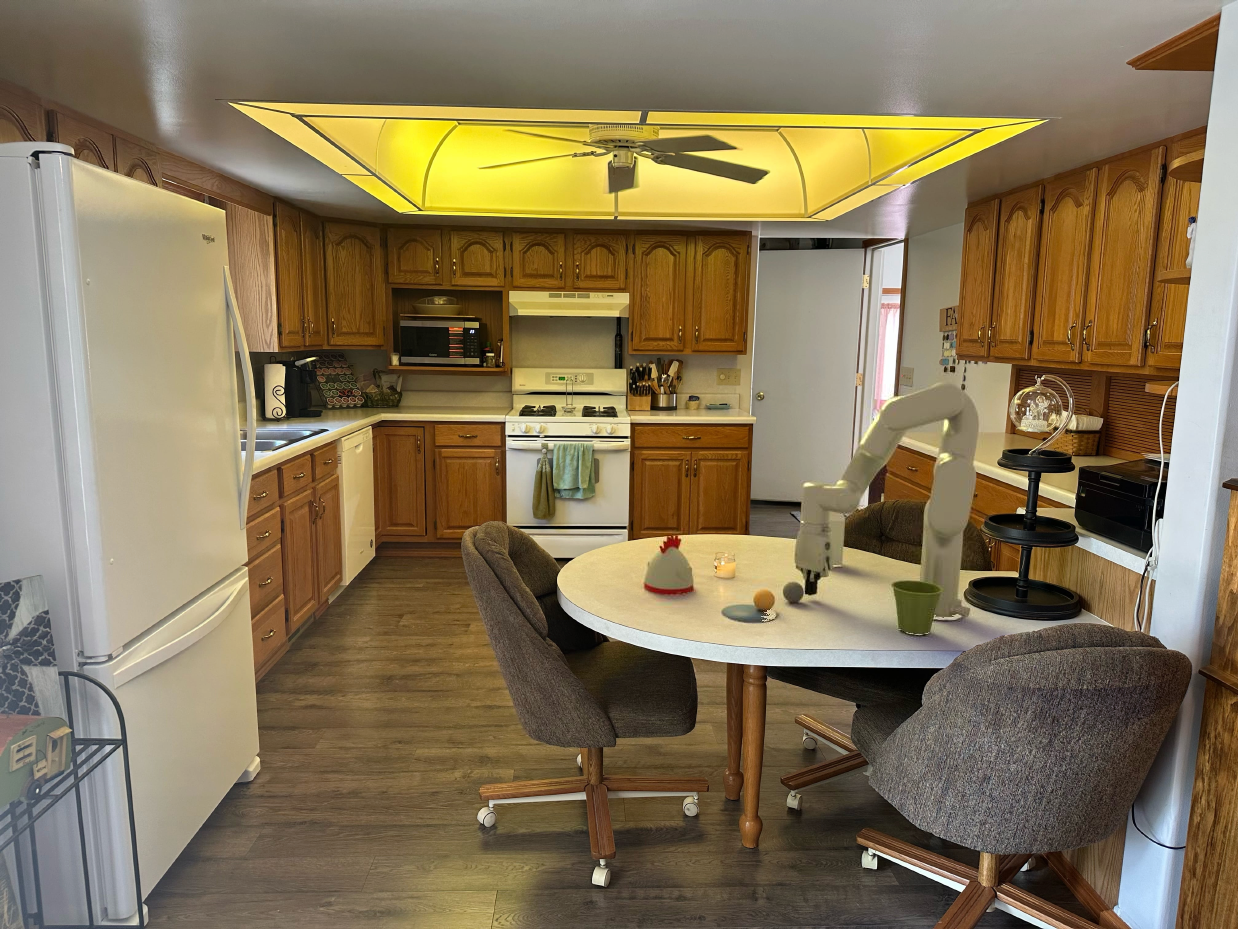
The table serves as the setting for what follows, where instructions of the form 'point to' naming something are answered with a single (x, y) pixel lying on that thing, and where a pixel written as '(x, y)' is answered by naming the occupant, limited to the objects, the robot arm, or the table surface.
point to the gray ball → (793, 592)
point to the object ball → (764, 600)
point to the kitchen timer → (669, 570)
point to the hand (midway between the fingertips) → (810, 594)
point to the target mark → (744, 613)
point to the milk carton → (837, 536)
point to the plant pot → (915, 605)
